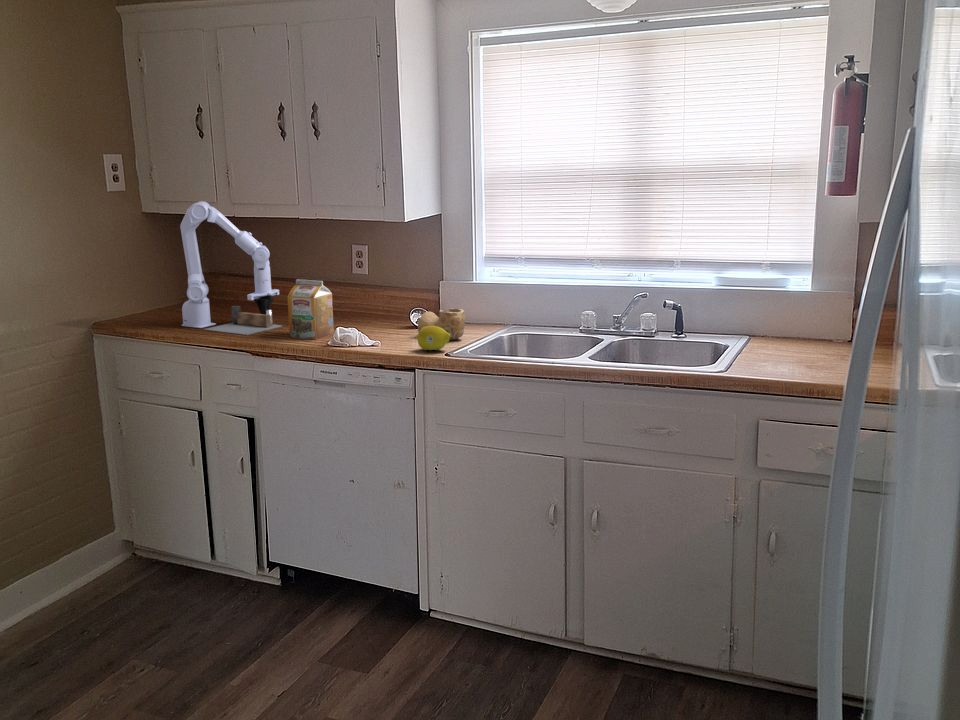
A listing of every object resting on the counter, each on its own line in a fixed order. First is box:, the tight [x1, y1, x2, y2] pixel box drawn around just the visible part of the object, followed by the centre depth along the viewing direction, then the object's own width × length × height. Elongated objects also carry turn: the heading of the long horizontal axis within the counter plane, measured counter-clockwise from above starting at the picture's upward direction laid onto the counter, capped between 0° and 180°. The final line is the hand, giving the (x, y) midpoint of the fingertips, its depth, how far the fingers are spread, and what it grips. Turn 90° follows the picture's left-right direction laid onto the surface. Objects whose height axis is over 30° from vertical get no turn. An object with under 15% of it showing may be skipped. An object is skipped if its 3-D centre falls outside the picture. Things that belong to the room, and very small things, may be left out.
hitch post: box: [266, 308, 274, 326], centre depth 312 cm, size 2×2×6 cm
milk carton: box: [287, 278, 335, 341], centre depth 295 cm, size 11×11×19 cm
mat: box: [203, 322, 283, 336], centre depth 310 cm, size 20×18×1 cm
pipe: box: [417, 307, 466, 341], centre depth 291 cm, size 9×16×10 cm, turn 56°
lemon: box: [416, 326, 451, 351], centre depth 272 cm, size 11×8×8 cm
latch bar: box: [230, 305, 270, 327], centre depth 313 cm, size 17×3×6 cm, turn 61°
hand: (264, 317), depth 318 cm, fingers closed
